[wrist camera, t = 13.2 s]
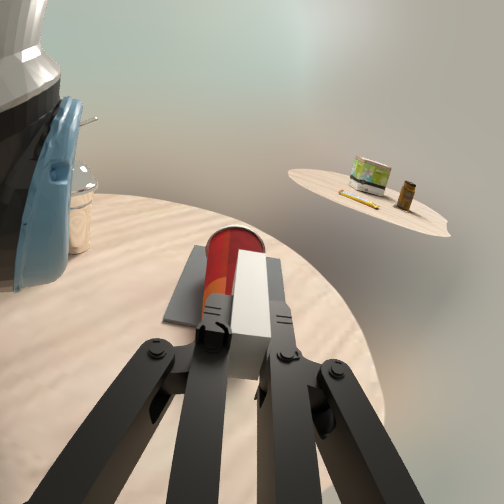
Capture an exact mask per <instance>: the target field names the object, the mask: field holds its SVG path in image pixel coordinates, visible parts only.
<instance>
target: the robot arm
mask: <svg viewBox="0 0 504 504" xmlns="http://www.w3.org/2000/svg"><path fill="white" fill-rule="evenodd" d="M47 2H48V0H0V292H10V291H13V292H19V291H20V290H21V289H22V288H27V287H32V286H37V285H43V284H48V283H51V282H54V281H56V280H57V279H58V278H59V277H60V276H61V275H62V274H63V272H64V270H65V269H66V266H67V262H68V252H69V223H70V205H71V191H72V180H73V170H74V162H75V154H76V147H77V140H78V134H79V127H80V119H81V113H82V108H83V106H82V103H81V101H79V100H77V99H72V98H71V97H70V96H68V97H64V98H63V100H60V96H59V89H60V88H59V87H60V76H61V67H60V66H59V65H58V64H57V63H56V62H55V61H54V60H53V59H52V58H51V57H50V56H49V55H48V54H47V53H46V52H45V51H44V50H43V49H42V47H41V43H40V36H41V30H42V25H43V20H44V14H45V10H46V6H47ZM292 324H293V322H292V316H291V310H290V308H289V307H288V305H287V304H286V303H285V302H280V301H272V300H269V297H268V282H267V268H266V254H265V253H259V252H252V251H246V250H240V249H239V252H238V258H237V264H236V270H235V276H234V282H233V288H232V295H225V294H219V293H212V294H211V295H210V296H209V297H208V298H207V300H206V304H205V308H204V313H203V317H202V322H201V323H199V324H198V326H197V327H196V337H195V341H194V342H192V343H191V344H188V345H185V346H176V347H173V346H172V344H171V343H170V342H168V341H166V340H164V339H160V338H155V339H150V340H147V341H145V342H144V343H143V344H142V345H141V346H140V348H139V349H138V350H137V351H136V353H135V354H134V355H133V357H132V358H131V359H130V360H129V362H128V363H127V364H126V366H125V367H124V368H123V369H122V371H121V372H120V373H119V375H118V376H117V377H116V379H115V380H114V381H113V383H112V384H111V385H110V387H109V388H108V389H107V391H106V392H105V393H104V395H103V396H102V397H101V399H100V400H99V401H98V403H97V404H96V405H95V407H94V408H93V409H92V411H91V412H90V413H89V415H88V416H87V417H86V419H85V420H84V422H83V423H82V424H81V426H80V427H79V428H78V430H77V431H76V433H75V434H74V435H73V437H72V438H71V439H70V441H69V442H68V444H67V445H66V446H65V448H64V449H63V451H62V452H61V454H60V455H59V456H58V458H57V459H56V461H55V462H54V464H53V465H52V466H51V468H50V469H49V471H48V472H47V474H46V475H45V477H44V478H43V480H42V481H41V483H40V484H39V486H38V487H37V488H36V490H35V491H34V493H33V495H32V496H31V498H30V499H29V501H27V502H25V503H23V504H114V503H115V501H116V499H117V497H118V496H119V494H120V492H121V490H122V489H123V487H124V485H125V483H126V482H127V480H128V478H129V476H130V474H131V473H132V471H133V469H134V467H135V466H136V464H137V462H138V460H139V459H140V457H141V455H142V453H143V451H144V450H145V448H146V446H147V444H148V443H149V441H150V439H151V437H152V436H153V434H154V432H155V430H156V428H157V427H158V425H159V423H160V421H161V420H162V418H163V416H164V414H165V412H166V411H167V409H168V407H169V405H170V404H171V402H172V400H173V398H174V396H175V394H185V395H184V400H183V405H182V410H181V416H180V421H179V426H178V432H177V437H176V443H175V449H174V455H173V461H172V467H171V473H170V479H169V486H168V492H167V499H166V504H218V496H219V481H220V466H221V452H222V438H223V425H224V412H225V400H226V387H227V377H233V378H241V379H250V380H258V377H259V376H260V383H259V386H258V389H257V391H256V394H255V398H254V400H257V504H322V496H321V486H320V477H319V469H318V460H317V452H316V444H317V447H318V449H319V452H320V454H321V456H322V459H323V461H324V464H325V466H326V468H327V471H328V473H329V475H330V478H331V480H332V483H333V485H334V487H335V489H336V492H337V494H338V497H339V499H340V501H341V504H425V503H424V501H423V499H422V497H421V495H420V493H419V492H418V490H417V487H416V486H415V484H414V482H413V480H412V478H411V476H410V474H409V473H408V470H407V469H406V467H405V465H404V463H403V461H402V459H401V457H400V456H399V454H398V452H397V450H396V448H395V446H394V445H393V443H392V441H391V439H390V437H389V436H388V434H387V432H386V430H385V429H384V427H383V425H382V423H381V421H380V419H379V418H378V416H377V414H376V412H375V411H374V409H373V407H372V405H371V403H370V402H369V400H368V398H367V396H366V395H365V393H364V391H363V389H362V388H361V386H360V384H359V383H358V381H357V379H356V377H355V376H354V374H353V372H352V370H351V369H350V368H349V366H348V365H347V364H346V363H344V362H343V361H340V360H337V359H329V360H326V361H325V362H324V363H323V364H319V363H316V362H313V361H310V360H308V359H306V358H304V357H303V356H302V353H301V351H300V350H299V349H298V348H297V347H296V342H295V335H294V328H293V325H292ZM315 442H316V444H315Z"/></svg>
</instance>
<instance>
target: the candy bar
mask: <svg viewBox="0 0 504 504" xmlns="http://www.w3.org/2000/svg"><path fill="white" fill-rule="evenodd" d="M339 194H340V195H343V196H345V197H348V198H350V199H353V200H355V201H357V202H360V203H362V204H365V205H367V206H369V207H372V208H373V207H374V208H377V207H379V206H377V205H375V204H374V203H372V202H370V201H368V200H365V199H363V198H361V197H358V196H355V195H353V194H350V193H347V192H344V190H341V191H340V192H339Z"/></svg>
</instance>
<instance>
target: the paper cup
mask: <svg viewBox="0 0 504 504" xmlns="http://www.w3.org/2000/svg"><path fill="white" fill-rule="evenodd" d="M239 249H240V250H246V251H252V252H259V253H265V246H264V243H263V241H262V239H261V238H260V237H259V236H258V234H256V233H255V232H254V231H253V230H252V229H250V228H248V227H246V226H242V225H228V226H225V227H223V228H221V229H219V230H218V231H216V232H215V233H214V234H213V235H212V236H211V237H210V238H209V240H208V242H207V245H206V247H205V254H206V258H207V265H206V275H205V284H204V295H203V306H202V317H203V313H204V308H205V304H206V300H207V298H208V297H209V296H210V295H211V294H212V293H219V294H225V295H232V288H233V282H234V276H235V270H236V264H237V258H238V252H239Z"/></svg>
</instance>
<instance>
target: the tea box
mask: <svg viewBox="0 0 504 504" xmlns="http://www.w3.org/2000/svg"><path fill="white" fill-rule="evenodd" d="M390 171H391V168H390V167H388V166H386V165H384V164H381V163H379V162H376V161H373V160H370V159H366V158H363V157H360V156H356V158H355V162H354V165H353V169H352V172H351V176H350V179H349V183H348V184H349V185H350V186H351V187H353V188H354V189H355V190H359V191H364V192H367V193H371V194H374V195H378V196H381V197H382V196H383V194H384V191H385V188H386V184H387V181H388V178H389V175H390Z"/></svg>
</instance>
